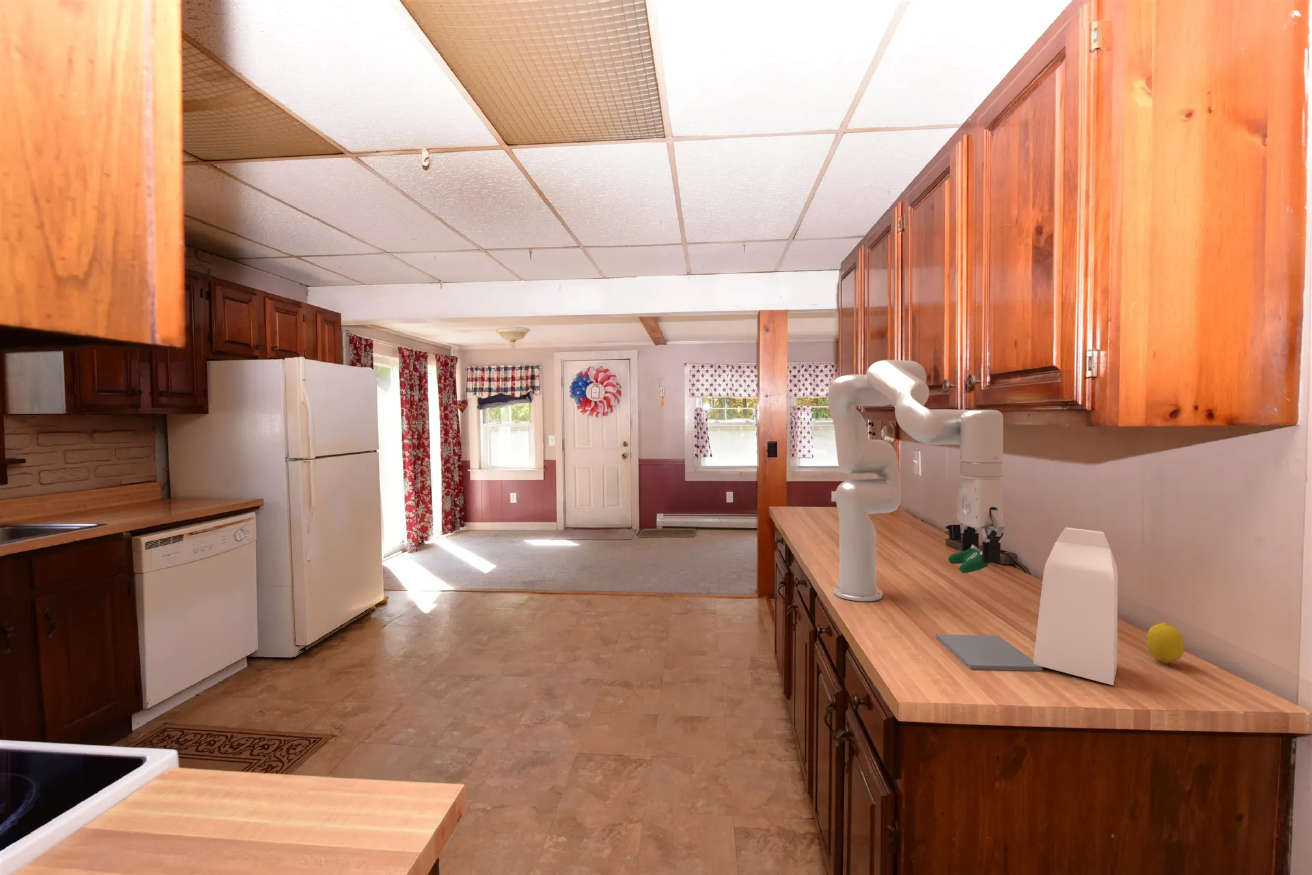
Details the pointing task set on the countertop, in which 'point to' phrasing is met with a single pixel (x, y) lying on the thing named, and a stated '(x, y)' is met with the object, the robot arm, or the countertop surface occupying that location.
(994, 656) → the slate mat
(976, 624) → the countertop surface
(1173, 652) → the lemon
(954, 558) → the gaming controller
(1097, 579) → the milk
